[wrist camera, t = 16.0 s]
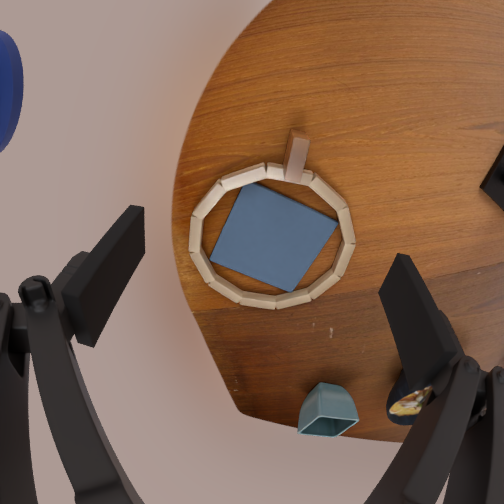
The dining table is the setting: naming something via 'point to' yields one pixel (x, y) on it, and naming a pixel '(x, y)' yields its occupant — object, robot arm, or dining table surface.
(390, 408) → the bowl
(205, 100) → the dining table surface
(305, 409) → the flower pot
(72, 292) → the robot arm
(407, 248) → the dining table surface
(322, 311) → the dining table surface
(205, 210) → the segmented ring with tab
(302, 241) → the mat
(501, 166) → the post on square base
